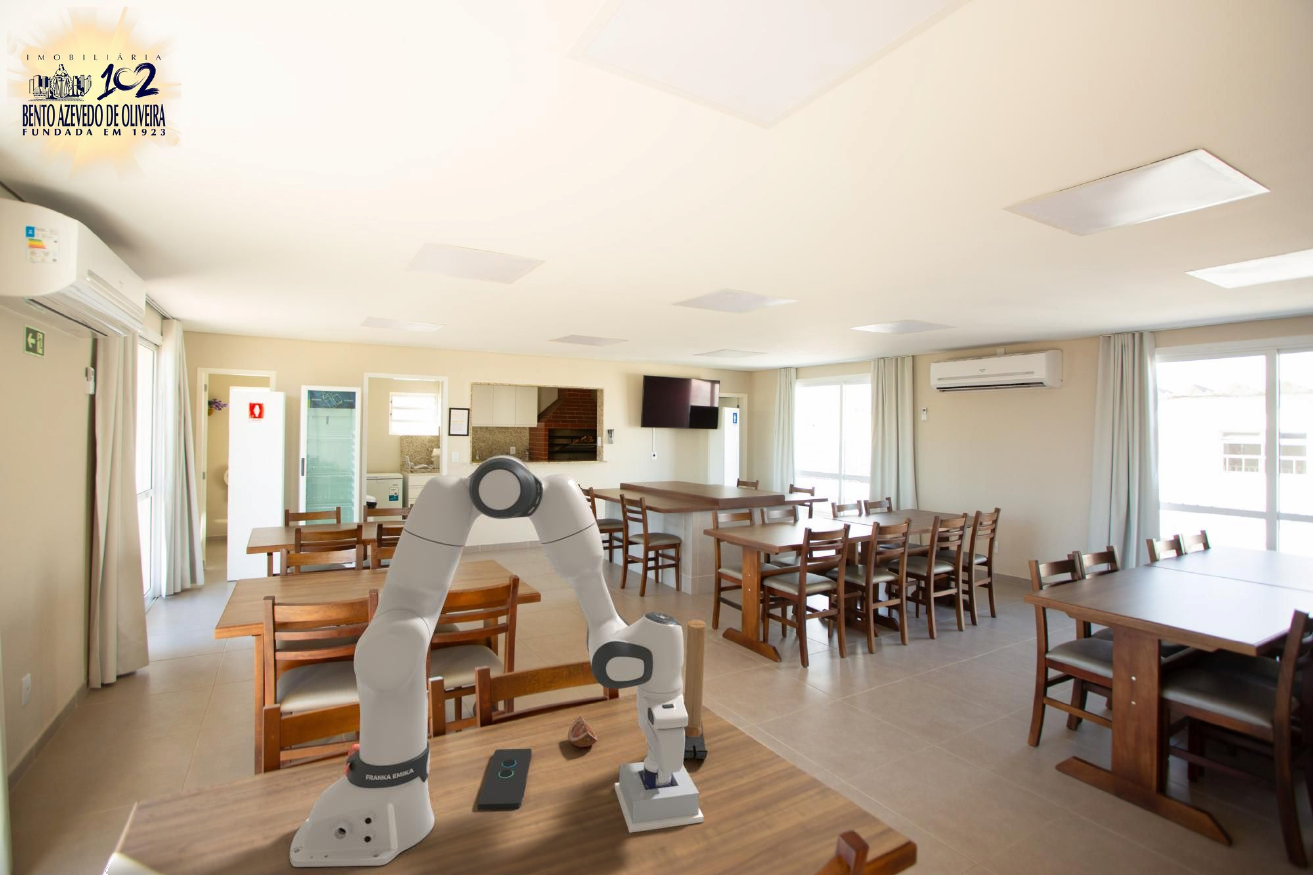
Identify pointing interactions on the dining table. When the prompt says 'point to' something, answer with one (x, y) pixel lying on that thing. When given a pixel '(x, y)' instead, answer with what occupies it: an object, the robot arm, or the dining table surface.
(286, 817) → the dining table surface
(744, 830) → the dining table surface
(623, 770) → the socket block
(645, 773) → the pill bottle
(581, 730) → the fruit slice
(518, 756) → the smart home device
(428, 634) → the robot arm
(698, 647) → the hammer
